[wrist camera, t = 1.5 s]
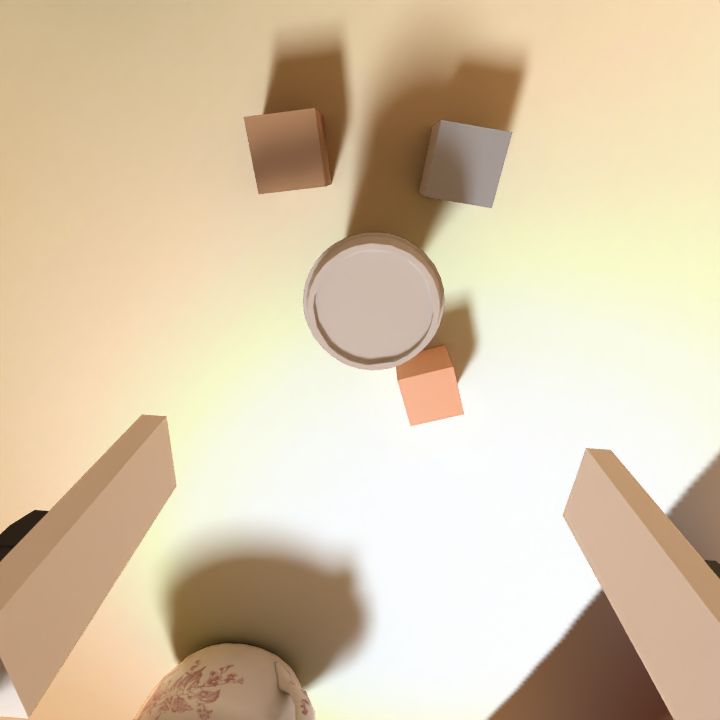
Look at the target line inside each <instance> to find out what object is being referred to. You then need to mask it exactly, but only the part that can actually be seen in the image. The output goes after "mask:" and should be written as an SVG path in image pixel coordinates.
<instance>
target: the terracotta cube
mask: <svg viewBox="0 0 720 720" xmlns="http://www.w3.org/2000/svg"><path fill="white" fill-rule="evenodd" d="M396 371H397V380H398V384H399V387H400V391H401V394H402V398H403V401H404V405H405V408H406V412H407V415H408V419H409V422H410V426H413V425H418V424H422V423H427V422H431V421H435V420H440V419H444V418H449V417H453V416H458V415H462V414H464V412H463V408H462V403H461V399H460V394H459V390H458V385H457V381H456V376H455V372H454V367H453V364H452V362H451V359H450V357H449V354H448V352H447V349H446V347H445V345H442V346H438V347H434V348H431V349H427V350H423V351H421V352H419V353H418V354H417V355H415V356H414V357H413V358H412V359H410V360H408V361H406V362H404V363H403V364H401V365H398V366H396Z"/></svg>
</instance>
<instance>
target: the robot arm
mask: <svg viewBox="0 0 720 720" xmlns="http://www.w3.org/2000/svg"><path fill="white" fill-rule="evenodd" d="M175 487H176V479H175V473H174V466H173V459H172V452H171V445H170V438H169V431H168V424H167V417H166V416H153V415H141V416H140V417H139V418H138V419H137V420H136V421H135V422H134V424H133V425H132V426H131V427H130V428H129V429H128V430H127V431H126V432H125V433H124V434H123V435H122V436H121V437H120V438H119V439H118V440H117V441H116V442H115V443H114V444H113V445H112V446H111V447H110V448H109V449H108V450H107V452H106V453H105V454H104V455H103V456H102V457H101V458H100V459H99V460H98V461H97V462H96V463H95V464H94V465H93V466H92V467H91V468H90V469H89V470H88V471H87V472H86V473H85V474H84V475H83V476H82V477H81V479H80V480H79V481H78V482H77V483H76V484H75V485H74V486H73V487H72V488H71V489H70V490H69V491H68V492H67V493H66V494H65V495H64V496H63V497H62V498H61V499H60V500H59V501H58V502H57V503H56V504H55V506H54V507H53V508H52V509H51V510H50V511H40V510H34V511H32V512H31V513H29V514H27V515H26V516H24V517H23V518H21V519H19V520H18V521H16V522H15V523H13V524H11V525H10V526H9V527H8V528H7V529H6V530H5V531H3V532H2V533H1V534H0V716H5V717H18V718H29V717H30V716H31V714H32V712H33V711H34V709H35V708H36V706H37V705H38V703H39V701H40V700H41V698H42V697H43V695H44V694H45V692H46V690H47V689H48V687H49V686H50V684H51V683H52V681H53V679H54V678H55V676H56V675H57V673H58V672H59V670H60V668H61V667H62V665H63V664H64V662H65V661H66V659H67V657H68V656H69V654H70V653H71V651H72V649H73V648H74V646H75V645H76V643H77V642H78V640H79V638H80V637H81V635H82V634H83V632H84V631H85V629H86V627H87V626H88V624H89V623H90V621H91V620H92V618H93V616H94V615H95V613H96V612H97V610H98V609H99V607H100V605H101V604H102V602H103V601H104V599H105V598H106V596H107V594H108V593H109V591H110V590H111V588H112V587H113V585H114V583H115V582H116V580H117V579H118V577H119V575H120V574H121V572H122V571H123V569H124V568H125V566H126V564H127V563H128V561H129V560H130V558H131V557H132V555H133V553H134V552H135V550H136V549H137V547H138V546H139V544H140V542H141V541H142V539H143V538H144V536H145V535H146V533H147V531H148V530H149V528H150V527H151V525H152V524H153V522H154V520H155V519H156V517H157V516H158V514H159V512H160V511H161V509H162V508H163V506H164V505H165V503H166V501H167V500H168V498H169V497H170V495H171V494H172V492H173V490H174V489H175ZM563 517H564V519H565V521H566V522H567V524H568V526H569V528H570V530H571V532H572V533H573V535H574V537H575V539H576V541H577V543H578V544H579V546H580V548H581V550H582V552H583V554H584V555H585V557H586V559H587V561H588V563H589V565H590V566H591V568H592V570H593V572H594V574H595V576H596V577H597V579H598V581H599V583H600V585H601V587H602V588H603V590H604V592H605V594H606V596H607V597H608V599H609V601H610V603H611V605H612V607H613V609H614V610H615V612H616V614H617V616H618V618H619V620H620V622H621V623H622V625H623V627H624V629H625V630H626V632H627V634H628V636H629V638H630V640H631V641H632V644H633V645H634V647H635V649H636V651H637V653H638V655H639V656H640V658H641V660H642V662H643V664H644V666H645V667H646V669H647V671H648V673H649V674H650V677H651V678H652V680H653V682H654V684H655V686H656V688H657V689H658V691H659V693H660V695H661V697H662V699H663V700H664V702H665V704H666V706H667V708H668V710H669V711H670V713H671V715H672V717H673V719H674V720H720V564H719V563H717V562H716V561H708V560H703V559H702V557H701V556H700V555H699V554H698V553H697V552H696V551H695V549H694V548H693V547H692V546H691V544H690V543H689V542H688V541H687V540H686V539H685V537H684V536H683V535H682V534H681V533H680V531H679V530H678V529H677V528H676V527H675V526H674V524H673V523H672V522H671V521H670V520H669V518H668V517H667V516H666V515H665V514H664V513H663V511H662V510H661V509H660V508H659V507H658V505H657V504H656V503H655V502H654V501H653V500H652V498H651V497H650V496H649V495H648V494H647V492H646V491H645V490H644V489H643V488H642V486H641V485H640V484H639V483H638V482H637V481H636V479H635V478H634V477H633V476H632V475H631V473H630V472H629V471H628V470H627V469H626V468H625V466H624V465H623V464H622V463H621V462H620V460H619V459H618V458H617V457H616V456H615V455H614V453H613V452H612V451H611V450H603V449H590V448H586V450H585V453H584V456H583V459H582V462H581V464H580V467H579V470H578V473H577V476H576V479H575V481H574V484H573V487H572V490H571V493H570V496H569V499H568V501H567V504H566V507H565V510H564V513H563Z"/></svg>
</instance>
